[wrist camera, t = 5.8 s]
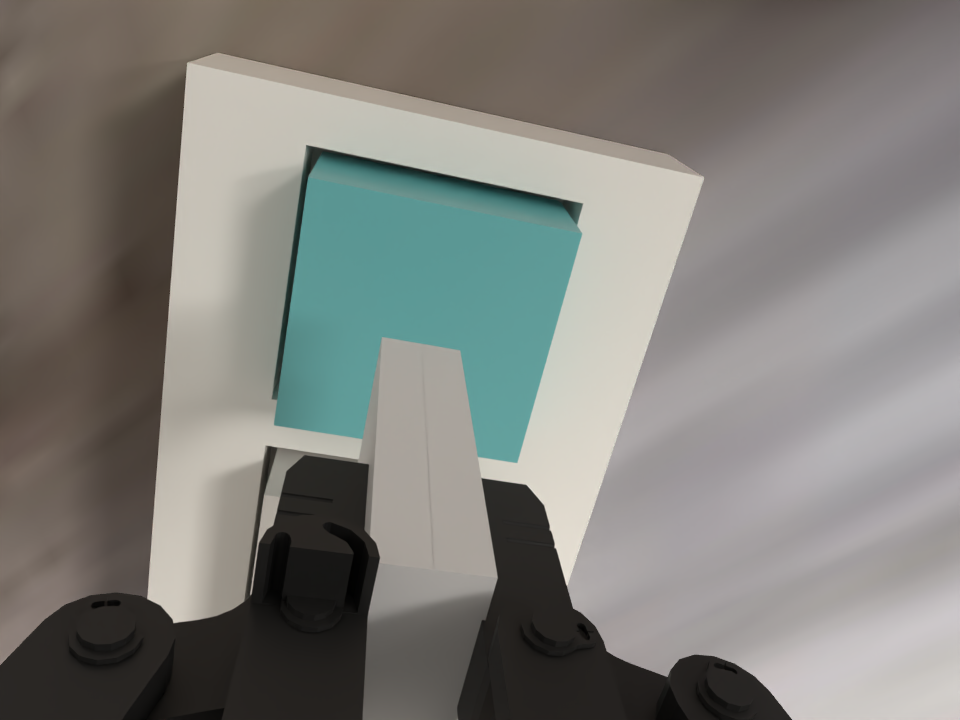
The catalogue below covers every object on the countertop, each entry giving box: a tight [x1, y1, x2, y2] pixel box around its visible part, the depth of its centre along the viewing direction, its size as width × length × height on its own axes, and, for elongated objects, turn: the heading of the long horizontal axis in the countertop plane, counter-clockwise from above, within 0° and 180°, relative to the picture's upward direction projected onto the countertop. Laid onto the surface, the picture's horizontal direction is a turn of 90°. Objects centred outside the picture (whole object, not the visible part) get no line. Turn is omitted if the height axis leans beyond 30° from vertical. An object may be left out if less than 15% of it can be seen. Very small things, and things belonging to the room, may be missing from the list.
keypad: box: [147, 53, 704, 720], centre depth 25 cm, size 12×25×3 cm, turn 167°
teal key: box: [274, 151, 582, 463], centre depth 20 cm, size 6×6×3 cm
